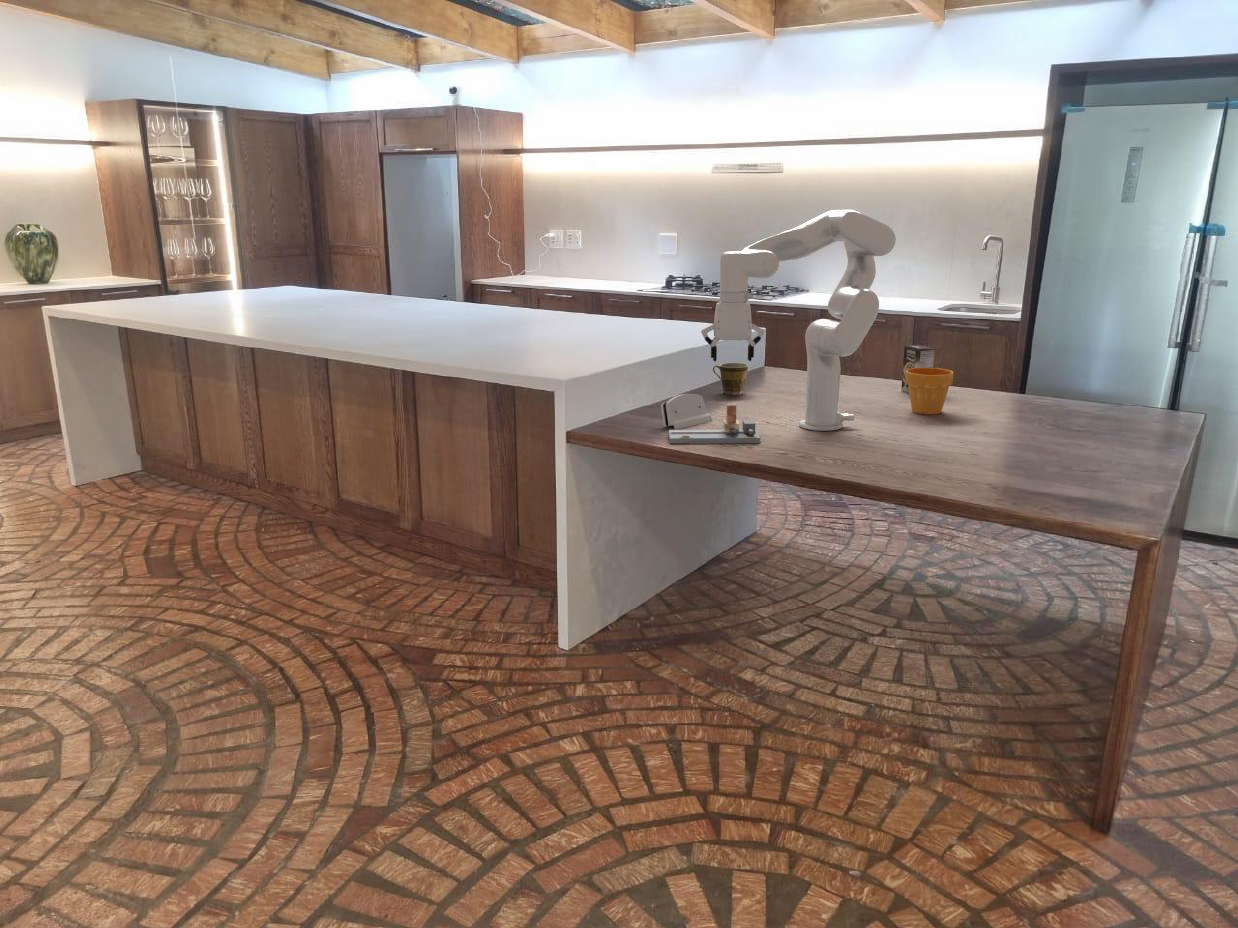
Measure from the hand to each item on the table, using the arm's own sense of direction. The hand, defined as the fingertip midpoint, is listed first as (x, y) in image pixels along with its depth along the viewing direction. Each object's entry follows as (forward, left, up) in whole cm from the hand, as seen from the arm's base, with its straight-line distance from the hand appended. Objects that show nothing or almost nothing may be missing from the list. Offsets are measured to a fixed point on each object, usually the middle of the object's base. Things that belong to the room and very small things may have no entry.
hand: (732, 360), depth 247 cm
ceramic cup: (-6, -65, -22) cm, 69 cm away
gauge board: (+5, +1, -22) cm, 23 cm away
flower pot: (-65, -32, -22) cm, 76 cm away
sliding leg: (0, +2, -20) cm, 20 cm away
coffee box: (-71, -63, -22) cm, 98 cm away
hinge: (+12, -19, -22) cm, 32 cm away
